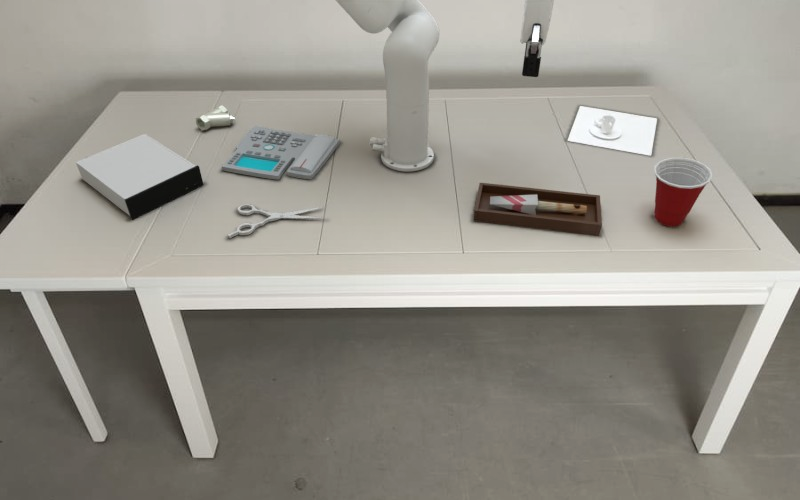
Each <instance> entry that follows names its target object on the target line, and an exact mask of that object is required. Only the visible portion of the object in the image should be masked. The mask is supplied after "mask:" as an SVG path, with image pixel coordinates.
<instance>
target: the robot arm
mask: <svg viewBox="0 0 800 500" xmlns="http://www.w3.org/2000/svg"><path fill="white" fill-rule="evenodd" d="M335 1H336V2H337V3H338V5H339V6H340V7H341V8H342V9H343V10H344V11H345V12H346V13H347V15H349V17H350V18H351V19H352V20H353V22H355V23H356V25H357V26H358V27H360V28H361V30H363V31H365V32H366V33H368V34H372V35H373V34H379V33H382V32H383V31H385V30H386V29H387V28H388V30H390V32H391V33H390V34H389V35H388V37H387V38H386V40H385V43H384V46H383V50H382V63H383V70H384V75H385V93H386V95H385V96H386V136H387V137H383V138H379V137H373V136H371V137H370V139H369V145H370V146H372V151H381V153H380V159H381V162H382V163H383V165H385V166H386V167H387V168H389V169H391V170H394V171H397V172H405V173H410V172H417V171H422V170H424V169H426V168H428V167H430V166H431V165H432V164H433V162H434V160H435V153H434V150H433V148H431V147H430V146H429V116H430V115H429V114H430V78H429V77H430V76H429V60H430V58H431V56H432V55H433V52H434V51H435V49H436V48H437V46H438V44H439V41H440V37H441V36H440V28H439V25H438V23H437V21H436V19H435V18H434V16H433V15H432V14H431V13H430V11H429V10H428V9H427V8H426V6H424V4H423V3H422V2H421V1H420V0H335ZM554 2H555V0H524V5H523V14H522V15H523V16H522V23H521V30H520V39H519V42H520V43H521V44H525V50H524V56H523V64H522V72H521V76H522V77H528V78H529V77H530V78H539V75H540V69H541V60H542V56H541V53H542V46H544V45H545V44H546V41H547V37H548V35H549V29H550V24H551V19H552V14H553V8H554V4H555V3H554Z"/></svg>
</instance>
